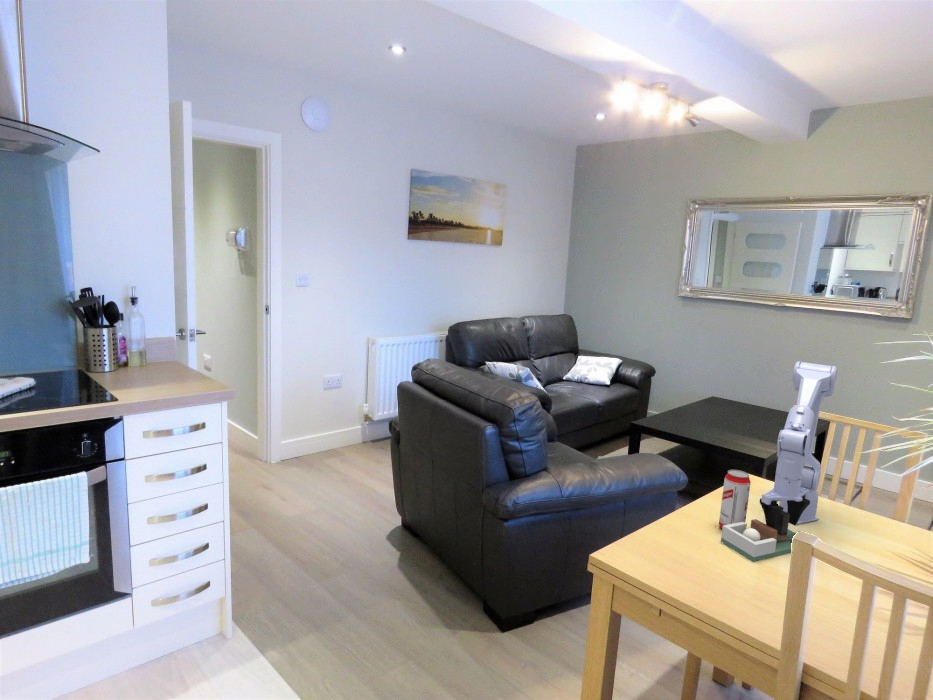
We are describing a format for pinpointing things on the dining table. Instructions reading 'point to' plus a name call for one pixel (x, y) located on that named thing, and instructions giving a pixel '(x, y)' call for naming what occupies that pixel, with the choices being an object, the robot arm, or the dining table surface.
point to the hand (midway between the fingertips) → (781, 525)
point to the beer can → (734, 498)
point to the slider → (770, 532)
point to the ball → (752, 534)
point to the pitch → (754, 543)
